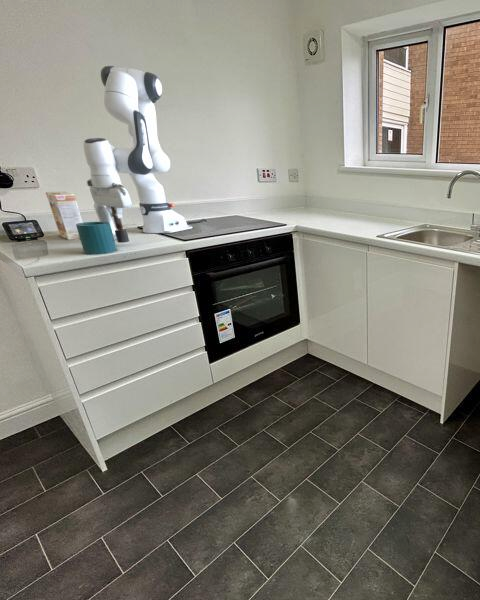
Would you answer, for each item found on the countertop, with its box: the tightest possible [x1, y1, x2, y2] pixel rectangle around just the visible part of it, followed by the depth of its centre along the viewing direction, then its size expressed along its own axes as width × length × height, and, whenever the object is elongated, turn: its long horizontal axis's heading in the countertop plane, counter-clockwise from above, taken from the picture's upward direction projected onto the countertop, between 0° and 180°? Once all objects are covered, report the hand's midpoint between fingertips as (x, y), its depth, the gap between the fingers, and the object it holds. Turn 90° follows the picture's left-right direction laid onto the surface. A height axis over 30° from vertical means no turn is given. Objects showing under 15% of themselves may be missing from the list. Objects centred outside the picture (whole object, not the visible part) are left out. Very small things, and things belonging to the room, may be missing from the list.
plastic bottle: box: [93, 202, 117, 241], centre depth 155 cm, size 6×7×20 cm
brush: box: [111, 207, 130, 244], centre depth 146 cm, size 4×4×16 cm
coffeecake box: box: [45, 191, 84, 241], centre depth 159 cm, size 15×7×20 cm, turn 53°
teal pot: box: [76, 221, 118, 255], centre depth 137 cm, size 10×10×11 cm
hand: (116, 217), depth 145 cm, fingers closed on brush, 2 cm apart
